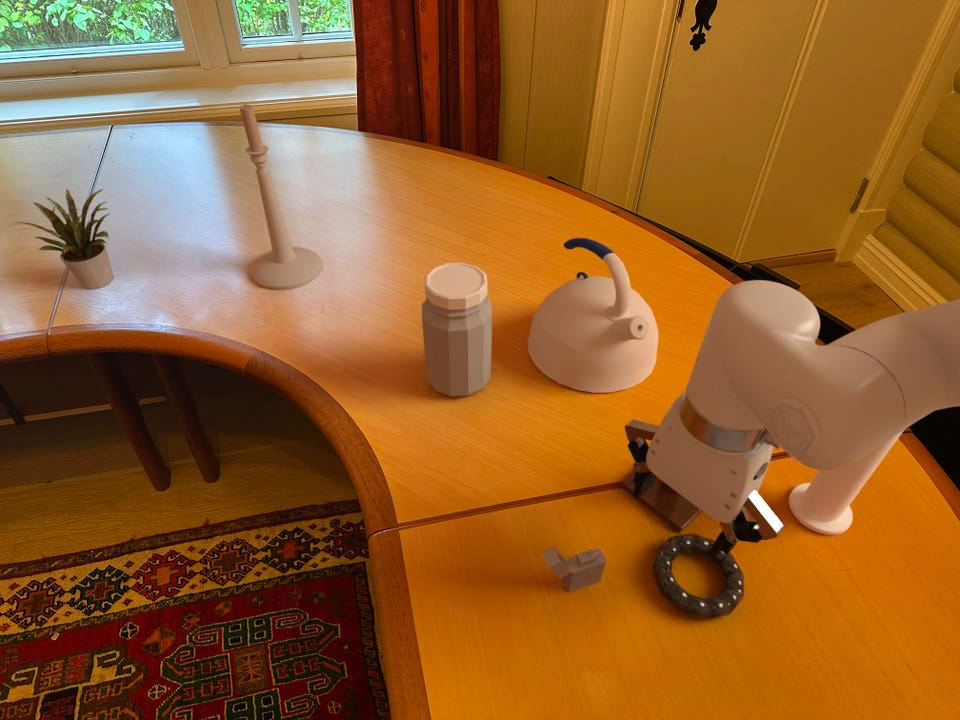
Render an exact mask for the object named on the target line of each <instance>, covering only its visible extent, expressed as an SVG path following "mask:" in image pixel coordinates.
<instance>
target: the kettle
mask: <svg viewBox="0 0 960 720" xmlns="http://www.w3.org/2000/svg"><path fill="white" fill-rule="evenodd" d="M563 247H564V248H565V249H566V250H574V249H576V248H581V249H585V250H587V251H589V252H592V253H593V254H595V255H596V256H597V257H598V258H600V259H601V260H602V261H603V262H604V263H605V265H606V266H607V268H608V269H609V272H610V275H611V277H606V276H601V275H600V276H599V275H592V276H591V275H590V276H589V275H588V273H586V272H584V271H579V272H578V273H576V278H574V279H571V280H569V281H566V282H564V283H562V284H561V285H560V286H559V287H557V288H556V289H554V290H553V291H551V292H550V293H549V294H547V295H546V296H545V298H544V299H543V300H542V302H541V303H540V305H539V306H538V308H537V309H536V310H535V312H534V314H533V318H532V321H531V326H530V330H529V334H528V339H527V350H528V355H529V357H530V358H531V360H532V362H533V364H534V365H535V367H537V368H538V370H540V371H541V373H542V374H544V376H546V377H548V378H549V379H551V380H553V381H554V382H556V383H557V384H559V385H562V386H564V387H567V388H570V389H573V390H576V391H581V392H585V393H586V392H588V393H599V394H600V393H615V392H618V391H624V390H627V389H628V390H629V389H631V388H632V387H634V386H636V385H639V384H640V383H642V382H643V381H644V380H645V379H647V377H649V376H650V375H651V374H652V372H653V370H654V368H655V366H656V364H657V354H658V347H659V329H658V324H657V321H656V318H655V314H654V313H653V310H652V308H651V307H650V305H648V303H647V301H646V300H645V299H644V298H643V297H642V296H641V294H640V293H639V292H638V291H636V290H635V289H634V288H632V285H631V282H630V277H629V273H628V271H627V269H626V267H625V264H624V263H623V261H622V260H621V258H620V257H619V256H618V255H617V254H616V252H615V251H613V250H612V249H610V248H609V247H608V246H607V245H605V244H603V243H601V242H599V241H596V240H594V239H591V238H587V237H575V238H570V239H568V240H567V241H565V242H563ZM581 276H582V277H581Z"/></svg>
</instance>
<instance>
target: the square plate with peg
mask: <svg viewBox="0 0 960 720" xmlns="http://www.w3.org/2000/svg"><path fill="white" fill-rule="evenodd" d="M635 474H636V470H635V469H634V470H633V471H631V472H630V473H629V474H628V475H627V476H626V477H624V479H622V480H621V482H620V484H619V487H620V488H621V489H622V490H623V491H625V492H627V494H629V495H630V496H632V493H633V490H634V487H635V483H633V480H634V477H635ZM632 497H633V498H634V499H635V500H637V502H639V503H641V504H642V505H643V506H644V507H646V509H648V510H650V511H651V512H652V513H653V514H655V515H656V516H657V517H658V518H659V519H661V520H662V521H664V522H665V523H666V524H667V525H668V526H670V527H671V528H672V529H674V530H675V531H677V532H678V533H679V534H680V533H681V532H683V530H684V529H686V528H687V526H688V525H689V524H691V522H692V521H694V519H695V518H697V517H698V515H699V514H700V513H702V512H703V511H702V510H701V509H699V508H698V507H696V506H695V505H694V504H692V503H691V502H690V501H688V500H687V499H686V498H684V497H683V496H682V495H680V494H679V493H678V492H676V491H675V490H674V489H672V488H671V487H670V486H669V485H667V484H666V483H665V482H663V481H662V480H661V479H660V478H658V477H656V479H655V482H654V484H653V486H652V487H650V488H649V489H648V490H647V491H646V492H645V493H644V494H643V495H642V496H641V497H640V498H635V497H634V496H632Z"/></svg>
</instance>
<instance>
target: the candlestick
mask: <svg viewBox="0 0 960 720" xmlns="http://www.w3.org/2000/svg"><path fill="white" fill-rule="evenodd" d="M239 112H240V116H241V119H242V123H243V127H244V130H245V135H246V138H247V142H248V146H249V147H247V148H245V150H244V152H245V153H246V154H247V155H249V156H250V161H251V163H253V164H254V166H255V167H256V171H255V175H256V177H257V183H258V187H259V192H260V197H261V203H262V207H263V211H264V212H263V213H264V216H265V221H266V225H267V230H268V231H267V232H268V236H269V240H270V246H271V250H270V251H268V252H266V253H264V254H263V255H261V256H259V258H258V259H257V260H255V262H254V263H253V264H252V265H251V268H250V275H251V279H252V281H253V282H254V283H255V284H256V285H257V286H259V287H262V288H264V289H267V290H274V291H285V290H291V289H297V288H299V287H302V286H305V285H307V284H310V283H311V282H313V281H314V280H315V279H316V278H317V277H319V276H320V274H321V272H322V270H323V269H324V268H323V266H324V264H323V259H322V257H321V256H320V255H319V254H318V253H316V252H315V251H313V250H311V249H308V248H305V247H300V246H293V245H292V243H291V239H290V236H289V233H288V229H287V226H286V223H285V220H284V217H283V213H282V210H281V206H280V203H279V200H278V197H277V194H276V191H275V187H274V184H273V180H272V177H271V174H270V169H268V167H267V161H268V159H269V157H268V155H267V152H268V151H269V149H270V148H269V146H267V145H265V144H263V142H262V141H263V140H262V138H261V133H260V130H259V125H258V122H257V116H256V113H255V110H254V106H253V105H252V104H246V103H244V105H240V106H239Z"/></svg>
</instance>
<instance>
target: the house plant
mask: <svg viewBox="0 0 960 720" xmlns="http://www.w3.org/2000/svg"><path fill="white" fill-rule="evenodd" d="M103 190H104V188H102V189H99V190H97V191H94V192H93V193H92V194H90V195H89V196H88V197H87V199H86V200H85V201H84V204H83V207H82V208H81V209H82V210H81V215H80V216H79V215H78V211H79V208H77V207H76V202H75V200H74V199H73V196H72V195H71V192H70V190H69V189H68V188H67V189H66V191H65V199H66V205H67V209H68V213H67V212H66V211H65V209H64V208H63V207H62V206H61V205H60V204H59V203H58V202H56V201H55V200H53V199H52V198H50V197H48V196H45V199H47V200H48V201H49V202H48V201H47V203H49V204H50V205H52V206H53V208H52V209H49V208H48V207H47V206H46V207H45V206H44V205H42V204H41V203H38V202H34V201H32V202H33V205H35V207H36V208H37V209H39V211H40V212H41V213H42V214H43V215H44V216H45V217H46V218H47V219H48V221H49V222H50V223H51V226H52V228H53V229H54V231H53V230H52V229H48V228H46V227H43V226H41V225H38V224H35V223H31V222H25V221H18V222H16V224H23V225H26V226H32V227H35V228H37V229H40V230H42V231H45V232H47V233H49V234H50V235H52V236H53V237H56V238H57V239H60V240H61V241H63V242H61V241H59V240H57V239H56V240H55V239H52V238H48V237H45V236H44V237H43V236H35V239H38V240H41V241H43V242H44V243H47V244H48V245H43V246H41V247H40V248H38V249H37V251H57V252H61V253H60V255H59V256H60V257H59V258H60V260H61V262H62V263H63V264H64V265H65V266H66V268H67V269H68V270H69V271H70V273H71V274H72V275H73V277H74V278H75V279H76V280H77V281H78V283H79V284H80V286H82V288H84V289H86V290H97V289H101V288H104V287H107V286H109V285H110V284H112V282H114V279H115V277H114V273H113V270H112V266H111V262H110V258H109V255H108V251H107V247H106V244H107V245H108V243H107V242H106V240H105V239H103V238H107V239H110V238H109V232H107V231H105V230H102V231H100V232H98V231H99V228H100V226H101V224H102V223H103V222H104V219H105V218H106V217H107V216H109V215H110V214H111V213H110V212H109V213H107V214H105V215H103V216H101V217H100V218H99V219H95V216H96V214H97V213H98V212H100V211H105V210H106V211H107V210H109V208H106V207H102V208H101V206H102V205H104V204H106V203H107V202H108V201H103V202H101V203H99V204H97V205H96V206H95V208H94V209H93V210H92V212H91V214H90V215H89V216H90V217H89V218H88V221H87V224H86V220H87V219H86V218H87V213H88V211H89V208H90V205H91V204H92V201H93V200H94V198H95V197H96V196H97V195H98V194H99V193H101V192H102V191H103ZM55 209H57V211H58V212H59V214H61V216H62V217H63V219H64V221H65V223H64V221H62V219H61V218H60V217H59V216H58V215H57V214H56V213H55V212H56V211H55ZM94 225H95V226H94ZM93 226H94V229H93ZM92 229H93V230H92ZM92 231H93V233H92ZM96 238H97V239H96Z"/></svg>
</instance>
